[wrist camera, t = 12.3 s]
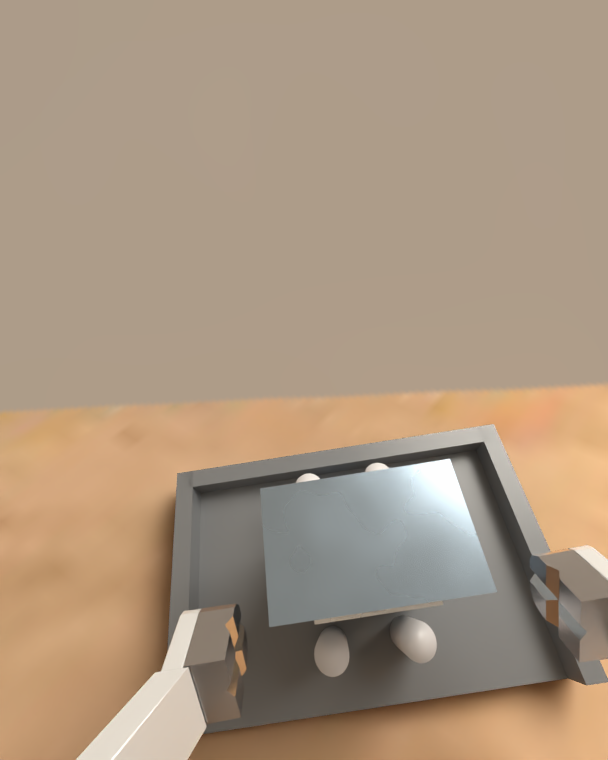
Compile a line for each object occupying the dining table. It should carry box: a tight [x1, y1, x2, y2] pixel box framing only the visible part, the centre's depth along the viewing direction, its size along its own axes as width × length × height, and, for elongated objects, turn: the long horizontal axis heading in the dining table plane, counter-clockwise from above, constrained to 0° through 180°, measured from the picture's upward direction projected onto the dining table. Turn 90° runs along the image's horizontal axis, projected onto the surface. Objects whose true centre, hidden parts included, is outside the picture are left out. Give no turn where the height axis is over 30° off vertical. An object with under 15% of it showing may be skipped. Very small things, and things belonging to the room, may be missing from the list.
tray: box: [167, 424, 608, 734], centre depth 15 cm, size 16×10×4 cm, turn 97°
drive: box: [260, 459, 497, 627], centre depth 12 cm, size 5×3×9 cm, turn 97°
